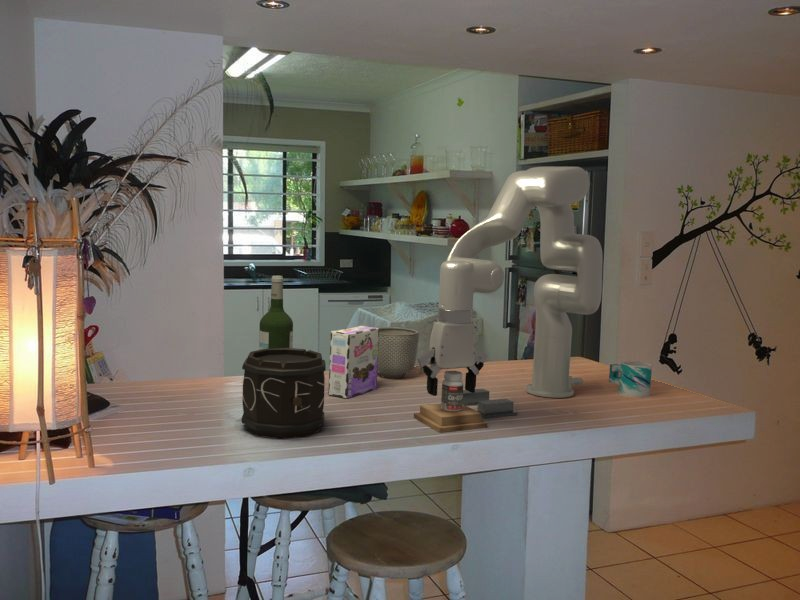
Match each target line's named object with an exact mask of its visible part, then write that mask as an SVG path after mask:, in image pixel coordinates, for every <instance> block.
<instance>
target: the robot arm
mask: <svg viewBox="0 0 800 600" xmlns="http://www.w3.org/2000/svg"><path fill="white" fill-rule="evenodd" d="M590 184H591V183H590V177H589V175H588V172H587V171H586V170H585V169H584V168H582V167H580V166H552V165H551V166H535V167H530V168H528V169H526V170H518V171H514V172H512V173H511V174H510V175H509V176H507V178H506V180H505V182H504V184H503V186H502V188H501V189H500V192H499V193H498V195H497V197H496V199H495V201H494V203H493V205H492V207H491V209H490V211H489V213H488V215H487V216H486V217H485V218H484V219H483V220H480V222H478V223H477V224H475V225H474V226H473V227H471V228H470V229H468V230H467V231H466V232H465V233H464V234H463V235H461V236H460V237H459V238H458V239H457V240H456V242H455V243H454V245H453V247H452V248H451V250H450V251H449V253H448V256H447V258H446V260H445V261H443V262H442V263H441V265H440V269H439V284H438V285H439V289H438V309H437V321H434V322H433V326H432V329H431V334H430V339H429V345H428V346H429V347H428V351H426V352H425V353H423V354H421V355H420V356H418V357H416V361H417V363H418V365H419V367H420V370H421V371H422V372H423V373H424V375H425V376H427V377H426V391H427V394H428V395H431V396H433V397H436V396H438V383H439V381H438V380H439V379H438V378H437V375H438V374H439V373H440V371H441V370H449V369H450V370H452V369H454V370H455V369H466V371H467V372H466V373H465V377H464V380H465V383H464V390H467V391H469V392H471V393H474V392H475V389H476V386H477V375H479V374H480V371H481V370H482V368H483V367H484V365H485V362H486V360H487V359H488V354H487V353H485V352H484V351H481V350H480V349H478V348H477V335H476V328H475V323H473V319H474V318H476V317H477V314H478V313H477V311H475V310H474V308H473V307H474V294H475V293H478V294H485V295H486V294H493V293H494V292H497V291H498V290H499V289H500V288H501V287H502V285H503V284H504V282H505V273H504V270H503V267H502V266H501V265H500V264H499V263H498V262H496V261H493V260H488V259H481V258H480V259H478V258H476V256H478V255H479V254H481V253H483V251H486V250H487V249H490V248H492V247H495V246H499V245H501V244H505V243H506V242H510V241H511V240H514V239H515V238H517V237H518V236H519V235H520V233H521V231H522V229H523V228H524V225H525V223H526V221H527V219H528V217H529V215H530V213H531V211H532V210H533V208H535V207H536V208H537V211H538V213H539V219H540V220H539V221H540V222H539V223H540V228H539V229H540V237H539V238H540V243H539V246H540V248H539V250H540V251H539V253H540V254H539V255H540V262H541V263H542V265H543V267H545V268H548V269H552V270H557V271H565V272H566V271H567V272H575V273H576V274H577V276H576V275H568V274H558V273H549V274H544V275H542V276H540V277H539V278H538V279H537V280H536V281H535V284H534V287H533V300H534V305H535V332H534V344H533V346H534V347H533V360H532V361H533V362H532V376H531V383H528V384H526V385H525V391H526V392H527V393H528V394H531V395H534V396H538V397H543V398H551V399H552V398H553V399H554V398H555V399H559V398H560V399H562V398H563V399H564V398H570V397H572V396H574V393H575V390H574V389H573V388H572V387H573V386H574V385H576V386H578V385H582V384H583V383H584V379H583V378H582V376H581V377H580V376H578V377H573V376H571V375H570V367H571V365H570V364H571V351H572V350H571V349H572V338H573V326H572V322H571V320H570V318H569V315H568V314H567V313H569V314H575V315H576V314H577V315H578V314H579V315H585V316H586V315H592V314H595V313H596V312H597V311H598V310H599V307H600V305H601V302H602V291H603V288H602V287H603V249H602V245H601V242H600V241H599V239H598V238H596V237H595V236H593V235H592V234H591V235H590V234H581V233H575V216H574V214H575V213H574V211H573V208H572V206H571V204H574V203H578V202H580V201H582V200H583V199H585V198H586V195H587V194H588V192H589V189H590ZM476 360H477V361H476ZM427 362H428V364H429V366H428V364H427Z"/></svg>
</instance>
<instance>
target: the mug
mask: <svg viewBox="0 0 800 600" xmlns="http://www.w3.org/2000/svg"><path fill="white" fill-rule="evenodd" d="M652 373H653V364H651V363H649V362H645V361H640V360H639V361H638V360H625V361H621V362H620V364H618V363H613V364H609V373H608V374H609V375H608V376H609V378H608V382H609V383H611V384H615V385H618V394H620V395H622V396H624V397H625V396H626V397H630V398H639V399H642V398H643V399H644V398H650V394H651V385H652Z"/></svg>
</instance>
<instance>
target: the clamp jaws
mask: <svg viewBox="0 0 800 600" xmlns="http://www.w3.org/2000/svg"><path fill="white" fill-rule="evenodd" d="M462 404H463V405H465V406H474V405H477V411H478V412H480V413H481V418H484V419H491V418H493V419H495V418H501V417H511V416H512V417H513V416H518V411H515V410H514V404H515V403H514V401H513V400H511V399H509V398H500V399H490V391H489V390H487V389H486V388H485V389H484V388H475V392H474V393H471V392H469V391H467V390H465V389H463V400H462Z"/></svg>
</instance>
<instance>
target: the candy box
mask: <svg viewBox="0 0 800 600" xmlns="http://www.w3.org/2000/svg"><path fill="white" fill-rule="evenodd" d="M378 337H379V327H371V326H366V325H359V326H354V327H350V328H345V329H344V328H343V329H337V330H331V331H330V343H329V344H330V347H329V367H328V368H329V374H328V395H329V396H332V397H337V398H342V399H348V398H353V397H355V396H356V397H357V396H358V395H362V394H365V393H368V392H371V391H374V390H377V388H378V387H377V386H378V371H377V366H378V365H377V364H378Z"/></svg>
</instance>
